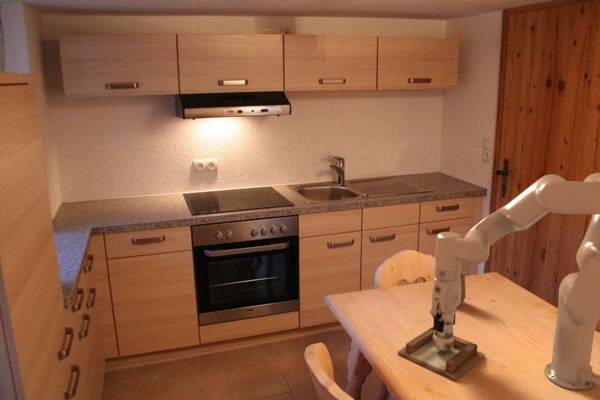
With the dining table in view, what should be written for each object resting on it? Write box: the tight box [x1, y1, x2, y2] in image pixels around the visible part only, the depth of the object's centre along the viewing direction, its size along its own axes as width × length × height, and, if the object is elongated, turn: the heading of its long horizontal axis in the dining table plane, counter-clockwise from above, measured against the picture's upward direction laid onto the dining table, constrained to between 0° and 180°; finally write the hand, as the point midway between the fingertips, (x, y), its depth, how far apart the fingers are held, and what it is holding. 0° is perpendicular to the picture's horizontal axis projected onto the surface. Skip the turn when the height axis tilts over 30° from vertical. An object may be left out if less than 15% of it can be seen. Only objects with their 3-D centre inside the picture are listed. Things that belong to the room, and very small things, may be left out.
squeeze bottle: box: [458, 267, 467, 307], centre depth 188 cm, size 8×8×18 cm
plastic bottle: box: [432, 306, 457, 351], centre depth 152 cm, size 6×7×20 cm
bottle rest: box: [397, 326, 486, 382], centre depth 155 cm, size 20×18×4 cm
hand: (444, 326), depth 153 cm, fingers closed on plastic bottle, 6 cm apart
